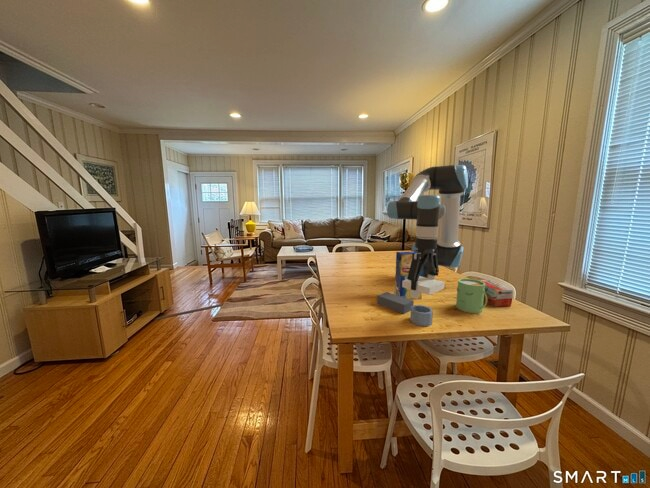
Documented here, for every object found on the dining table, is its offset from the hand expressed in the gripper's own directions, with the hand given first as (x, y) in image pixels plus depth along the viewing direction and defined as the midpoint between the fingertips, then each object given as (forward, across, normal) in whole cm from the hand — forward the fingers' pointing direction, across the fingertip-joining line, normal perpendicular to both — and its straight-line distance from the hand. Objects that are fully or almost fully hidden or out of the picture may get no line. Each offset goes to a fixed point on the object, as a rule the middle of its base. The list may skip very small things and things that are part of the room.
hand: (422, 294), depth 97 cm
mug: (+11, -27, +8) cm, 30 cm away
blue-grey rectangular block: (+11, -4, -15) cm, 19 cm away
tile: (-3, 0, 0) cm, 3 cm away
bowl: (+11, 0, 0) cm, 11 cm away
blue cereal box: (+11, -19, -18) cm, 29 cm away
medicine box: (+11, -45, +10) cm, 48 cm away
